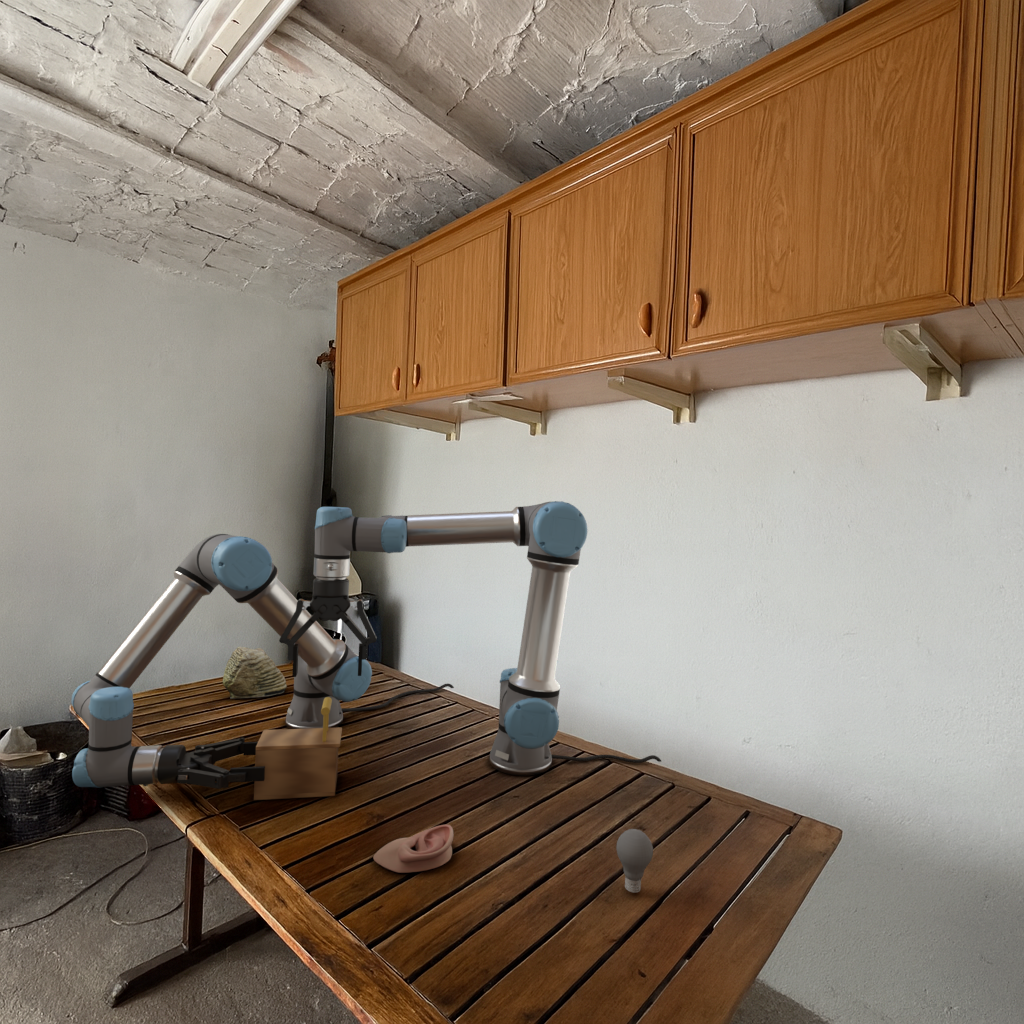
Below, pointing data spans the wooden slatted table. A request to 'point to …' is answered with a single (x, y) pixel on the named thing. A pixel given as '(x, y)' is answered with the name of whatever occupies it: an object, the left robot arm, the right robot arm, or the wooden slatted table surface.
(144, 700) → the wooden slatted table surface
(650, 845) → the light bulb
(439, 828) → the anatomical model
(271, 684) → the fossil
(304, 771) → the chest
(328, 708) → the lid
